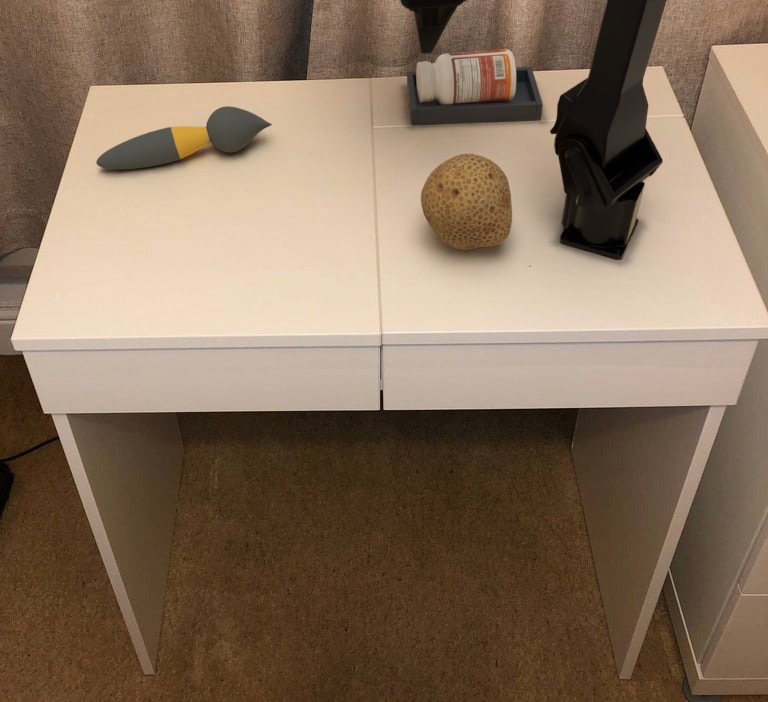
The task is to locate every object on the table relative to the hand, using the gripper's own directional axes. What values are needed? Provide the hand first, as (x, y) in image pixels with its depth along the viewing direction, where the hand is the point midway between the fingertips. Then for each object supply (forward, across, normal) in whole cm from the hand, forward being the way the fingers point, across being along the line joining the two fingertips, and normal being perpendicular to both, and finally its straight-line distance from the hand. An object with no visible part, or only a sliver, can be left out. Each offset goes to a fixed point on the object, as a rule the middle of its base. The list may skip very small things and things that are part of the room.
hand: (419, 30), depth 92 cm
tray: (+13, -6, +7) cm, 16 cm away
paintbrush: (+13, +1, -27) cm, 30 cm away
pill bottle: (+9, -5, +12) cm, 16 cm away
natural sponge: (+13, +19, +2) cm, 23 cm away
